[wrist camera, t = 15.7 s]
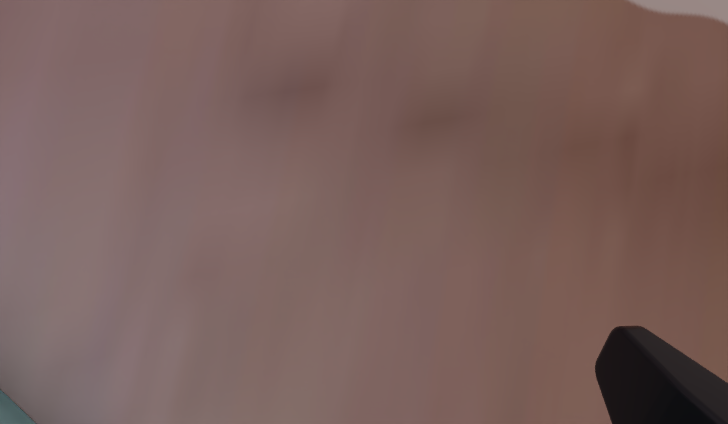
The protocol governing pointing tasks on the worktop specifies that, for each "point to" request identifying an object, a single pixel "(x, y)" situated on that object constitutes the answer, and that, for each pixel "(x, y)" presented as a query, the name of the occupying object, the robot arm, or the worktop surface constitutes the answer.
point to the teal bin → (12, 412)
